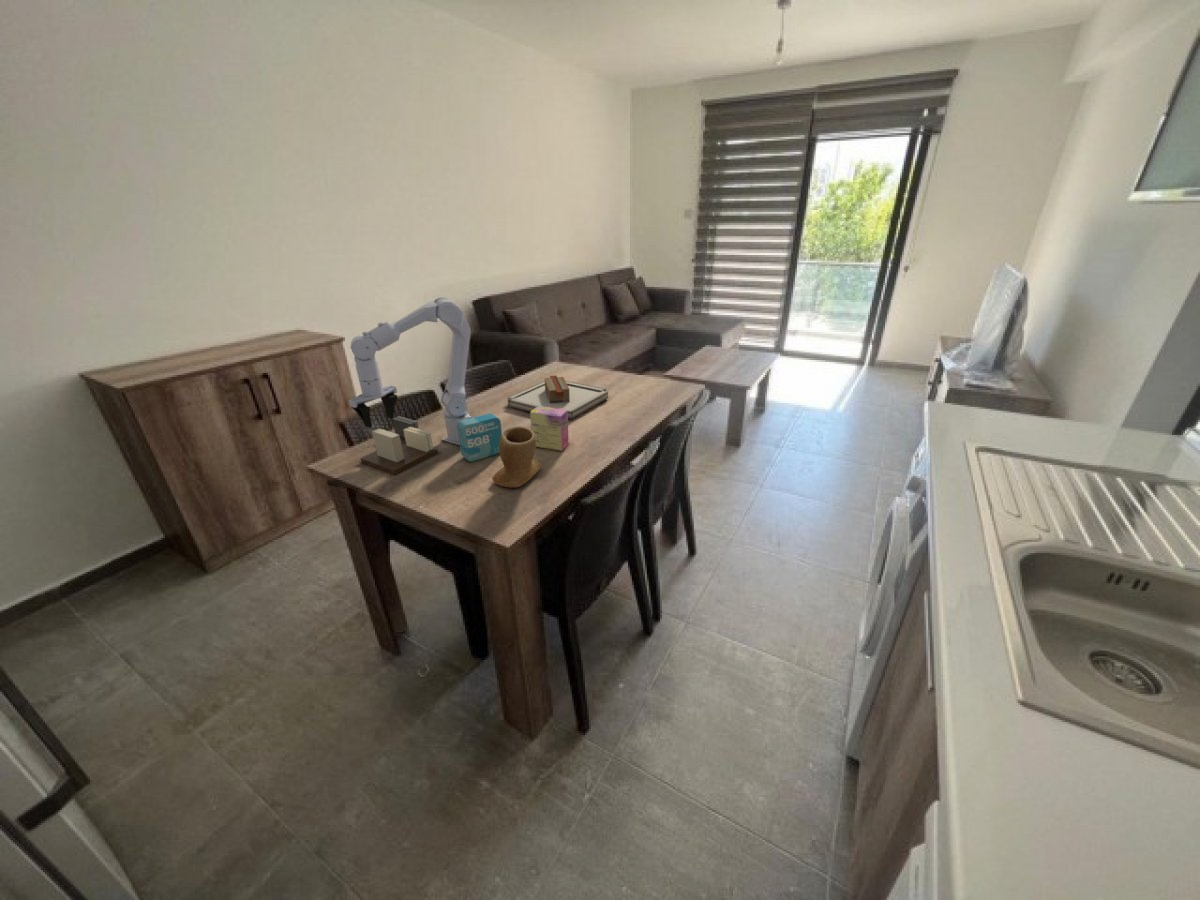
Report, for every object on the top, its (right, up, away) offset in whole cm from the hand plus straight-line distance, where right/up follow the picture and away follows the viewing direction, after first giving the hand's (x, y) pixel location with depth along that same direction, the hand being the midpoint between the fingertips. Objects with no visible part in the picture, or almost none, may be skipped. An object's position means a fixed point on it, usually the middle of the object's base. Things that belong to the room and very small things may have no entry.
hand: (379, 422), depth 143 cm
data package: (+30, -10, +3) cm, 32 cm away
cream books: (+10, -7, +5) cm, 14 cm away
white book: (+4, -10, -1) cm, 11 cm away
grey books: (+2, -4, +15) cm, 16 cm away
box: (+50, -7, +9) cm, 52 cm away
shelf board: (+5, -11, +2) cm, 12 cm away
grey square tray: (+50, +10, +44) cm, 67 cm away
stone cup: (+44, -16, -9) cm, 48 cm away
